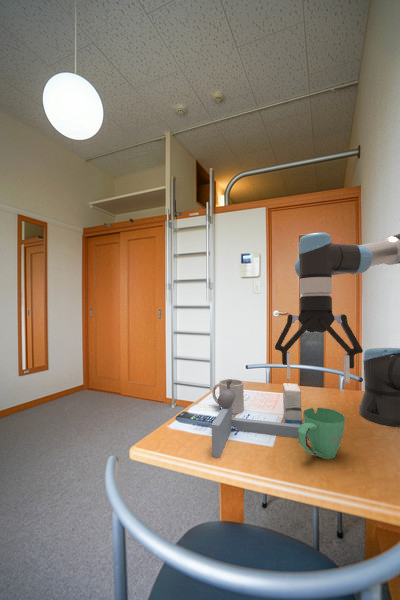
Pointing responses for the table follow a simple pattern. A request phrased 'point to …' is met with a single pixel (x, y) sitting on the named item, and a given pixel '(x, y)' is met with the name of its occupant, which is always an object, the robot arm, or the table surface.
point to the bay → (242, 424)
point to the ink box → (292, 404)
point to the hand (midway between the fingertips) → (316, 379)
